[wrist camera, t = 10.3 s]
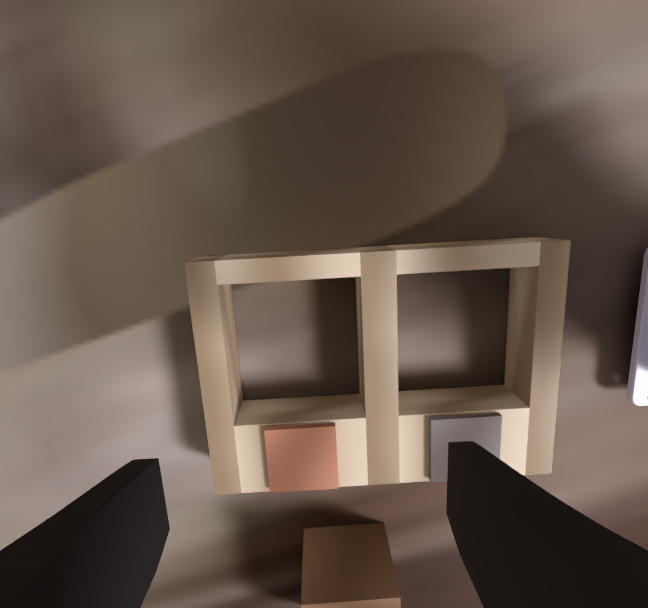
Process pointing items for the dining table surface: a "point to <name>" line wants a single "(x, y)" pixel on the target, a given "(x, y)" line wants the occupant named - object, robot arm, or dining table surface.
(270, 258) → the slot rack
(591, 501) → the dining table surface
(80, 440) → the dining table surface
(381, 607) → the brown rectangular block
